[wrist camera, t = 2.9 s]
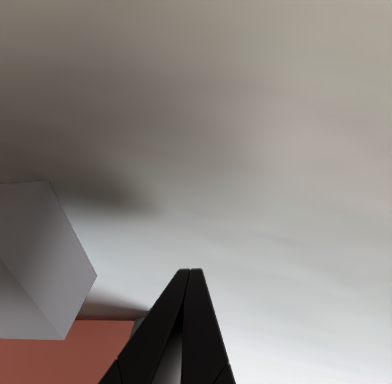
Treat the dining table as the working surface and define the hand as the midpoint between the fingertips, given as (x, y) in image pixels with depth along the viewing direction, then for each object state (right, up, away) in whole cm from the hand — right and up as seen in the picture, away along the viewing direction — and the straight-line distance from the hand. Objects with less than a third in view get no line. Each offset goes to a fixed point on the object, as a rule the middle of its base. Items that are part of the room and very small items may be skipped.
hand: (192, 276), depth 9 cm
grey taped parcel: (-10, +1, +4) cm, 10 cm away
